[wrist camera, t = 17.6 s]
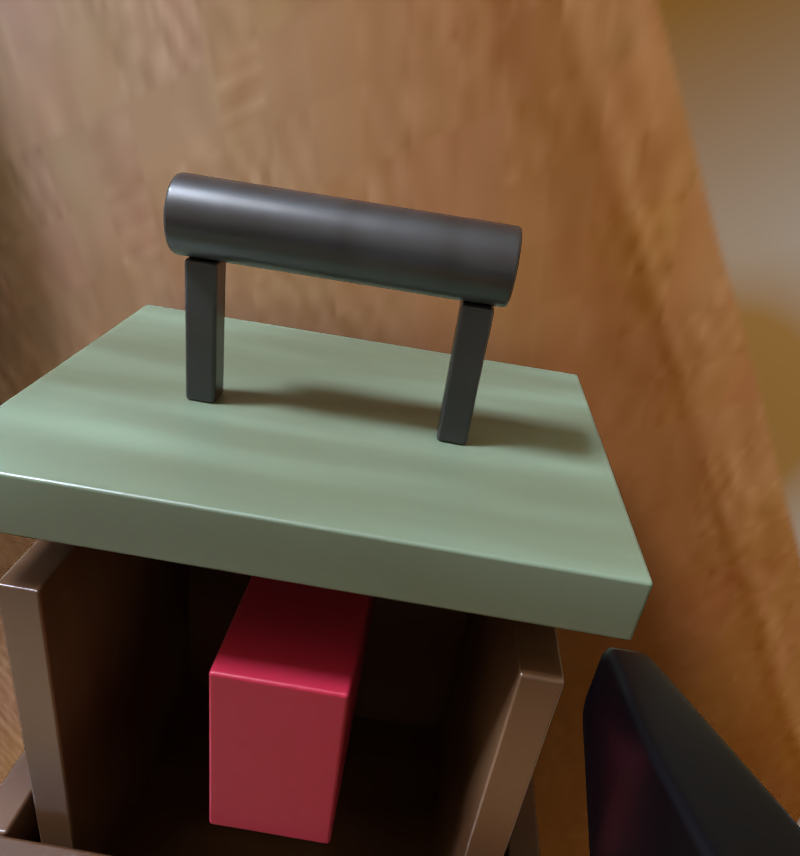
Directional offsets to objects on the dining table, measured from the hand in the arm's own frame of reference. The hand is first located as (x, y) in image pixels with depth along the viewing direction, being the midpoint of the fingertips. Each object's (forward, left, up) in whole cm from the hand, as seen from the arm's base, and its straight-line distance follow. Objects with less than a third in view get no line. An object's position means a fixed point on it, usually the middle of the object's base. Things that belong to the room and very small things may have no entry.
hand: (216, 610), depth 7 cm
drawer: (0, +5, -11) cm, 12 cm away
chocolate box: (0, +7, -10) cm, 12 cm away
